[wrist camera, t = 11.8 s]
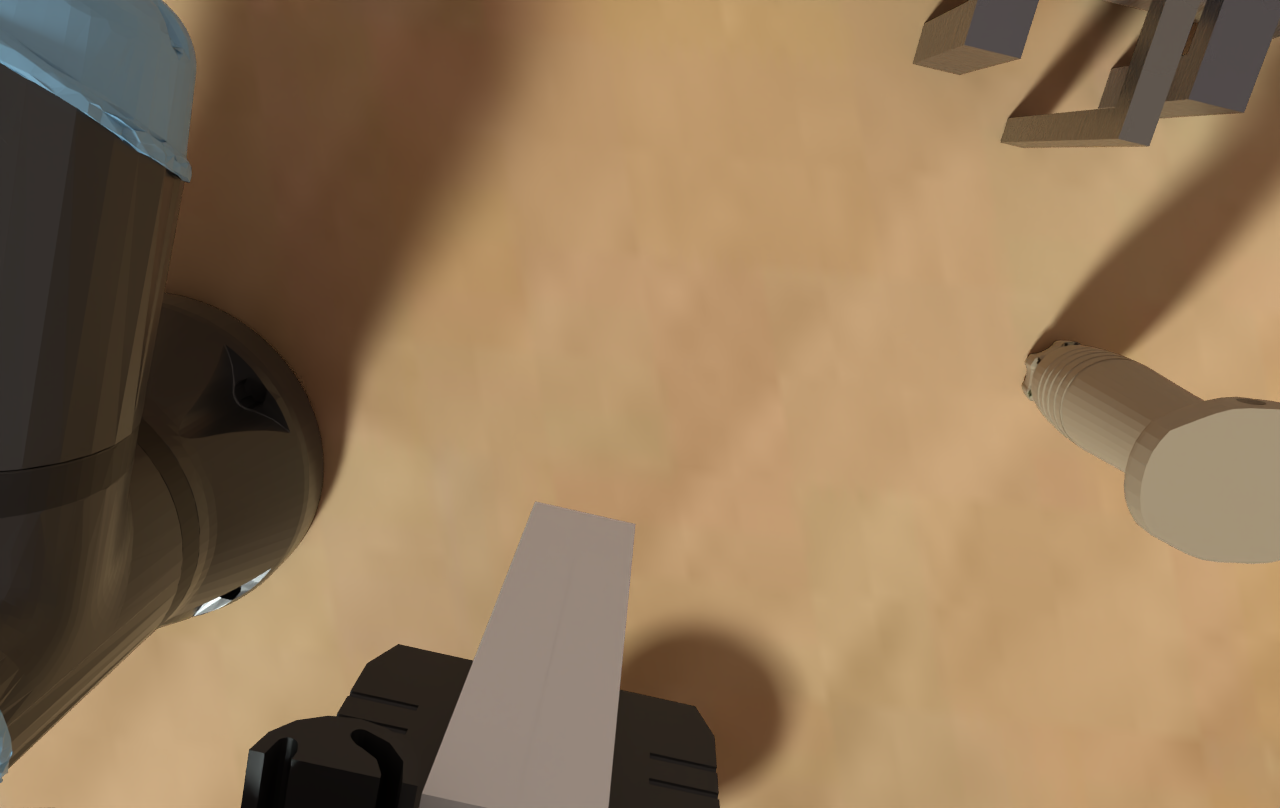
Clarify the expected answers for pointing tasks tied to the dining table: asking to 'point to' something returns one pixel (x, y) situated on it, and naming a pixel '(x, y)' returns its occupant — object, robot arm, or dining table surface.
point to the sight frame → (1137, 97)
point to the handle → (1170, 450)
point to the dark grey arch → (976, 35)
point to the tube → (1143, 3)
